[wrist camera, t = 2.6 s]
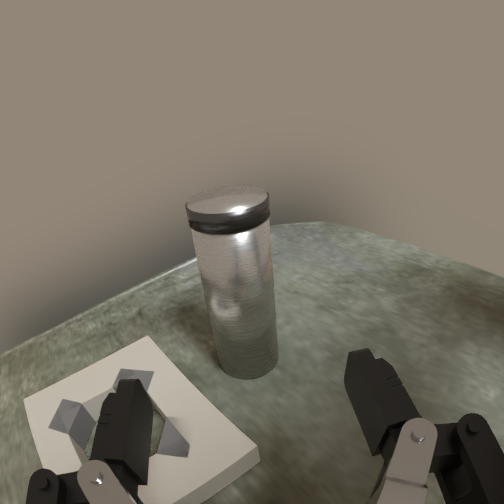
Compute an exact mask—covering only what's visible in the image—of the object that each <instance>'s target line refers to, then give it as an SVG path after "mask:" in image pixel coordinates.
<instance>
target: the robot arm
mask: <svg viewBox="0 0 504 504" xmlns="http://www.w3.org/2000/svg"><path fill="white" fill-rule="evenodd" d="M344 383H345V388H346V391H347V394H348V396H349V399H350V401H351V404H352V406H353V409H354V411H355V413H356V416H357V418H358V421H359V423H360V426H361V428H362V431H363V433H364V436H365V438H366V441H367V443H368V446H369V448H370V451H371V453H372V456H375V455H379V454H382V457H383V459H384V461H383V463H382V466H381V468H380V471H379V473H378V476H377V478H376V481H375V483H374V486H373V488H372V490H371V493H370V495H369V497H368V500H367V502H366V503H365V504H424V502H425V499H426V495H427V490H428V488H427V486H426V480H427V476H428V473H432V472H434V473H435V476H436V478H437V481H438V483H439V486H440V489H441V491H442V494H443V497H444V500H445V502H446V504H504V453H503V451H502V449H501V447H500V445H499V444H498V442H497V440H496V438H495V436H494V434H493V432H492V430H491V428H490V427H489V425H488V423H487V421H486V420H485V419H484V418H483V417H482V416H481V415H478V414H475V413H470V414H466V415H464V416H463V417H462V418H461V419H460V420H459V421H458V423H449V424H433V423H432V422H431V421H429V420H427V419H424V418H422V417H421V416H420V415H419V413H418V411H417V409H416V408H415V406H414V404H413V402H412V400H411V398H410V397H409V395H408V393H407V391H406V389H405V388H404V386H402V382H401V381H400V379H399V378H398V375H397V374H396V372H395V370H394V368H393V367H392V365H390V364H389V363H388V362H387V361H385V360H384V359H383V358H380V359H376V360H375V358H374V356H373V354H372V353H371V351H370V350H369V349H368V348H365V349H361V350H357V351H352V352H349V354H348V359H347V365H346V370H345V376H344ZM152 422H153V407H152V403H151V401H150V399H149V397H148V395H147V393H146V391H145V389H144V387H143V385H142V383H141V381H140V379H120V380H119V382H118V386H117V391H116V393H109V394H108V396H107V397H106V398H105V400H104V401H103V403H102V407H101V411H100V416H99V419H98V425H97V428H96V433H95V438H94V442H93V447H92V452H91V457H90V459H89V461H88V462H86V463H84V464H83V465H82V466H81V467H80V469H79V470H78V471H75V472H70V473H65V474H59V475H56V474H55V473H54V472H53V471H51V470H49V469H39V470H37V471H36V472H34V473H33V474H32V476H31V478H30V481H29V487H28V492H27V499H26V504H145V502H144V501H143V500H142V499H141V497H140V496H139V495H138V485H147V483H148V468H149V455H150V443H151V432H152Z"/></svg>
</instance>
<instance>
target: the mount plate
mask: <svg viewBox="0 0 504 504" xmlns="http://www.w3.org/2000/svg"><path fill="white" fill-rule="evenodd" d="M120 379H140V381H141V383H142V385H143V387H144V389H145V391H146V393H147V395H148V397H149V399H150V401H151V403H152V407H153V410H157V411H158V412H159V413H160V415H161V416H162V417H163V419H164V420H165V424H164V428H163V432H162V435H161V439H160V443H159V447H158V450H157V453H156V454H155V455H153V456H151V457H149V468H148V483H147V485H138V495H139V496H140V497H141V499H142V500H143V501H144V502H145V504H201V503H203V502H204V501H206V500H207V499H209V498H210V497H212V496H213V495H215V494H216V493H218V492H219V491H221V490H222V489H223V488H225V487H226V486H228V485H229V484H231V483H232V482H233V481H235V480H236V479H238V478H239V477H240V476H242V475H243V474H244V473H246V472H247V471H248V470H250V469H251V468H252V467H254V466H255V465H256V464H258V463H259V462H260V456H259V451H258V446H257V445H256V444H255V443H254V442H253V441H252V440H250V439H249V438H248V437H247V436H246V435H245V434H244V433H243V432H241V431H240V430H239V429H238V428H237V427H236V426H235V425H234V424H233V423H232V422H231V421H229V420H228V419H227V418H226V417H225V416H224V415H223V414H222V413H221V412H220V411H219V410H218V409H217V408H216V407H215V406H214V405H213V404H212V403H211V402H210V401H209V400H208V399H207V398H206V397H205V396H204V395H203V394H202V393H201V392H200V391H199V390H198V389H197V388H196V387H195V386H194V385H193V384H192V383H191V382H190V381H189V380H188V379H187V378H186V377H185V376H184V375H183V374H182V373H181V372H180V371H179V370H178V369H177V367H176V366H175V365H174V364H173V363H172V362H171V361H170V360H169V359H168V358H167V357H166V355H165V354H164V353H163V352H162V351H161V350H160V349H159V348H158V346H157V345H156V344H155V343H154V342H153V341H152V340H151V338H150V337H149V336H148V335H147V336H146V337H144V338H142V339H140V340H138V341H136V342H134V343H132V344H131V345H129V346H127V347H125V348H123V349H121V350H119V351H117V352H115V353H113V354H112V355H110V356H108V357H106V358H104V359H102V360H100V361H98V362H96V363H94V364H92V365H90V366H89V367H87V368H85V369H83V370H81V371H79V372H77V373H75V374H73V375H71V376H69V377H67V378H65V379H63V380H61V381H59V382H57V383H55V384H53V385H51V386H49V387H47V388H45V389H43V390H41V391H39V392H37V393H35V394H33V395H31V396H29V397H27V398H25V399H23V400H24V404H25V408H26V412H27V416H28V420H29V424H30V428H31V431H32V435H33V438H34V441H35V445H36V448H37V451H38V454H39V457H40V460H41V463H42V466H43V469H49V470H51V471H53V472H54V473H55V474H56V475H59V474H65V473H70V472H75V471H78V470H79V469H80V467H81V466H82V465H83V464H84V463H86V462H88V461H89V460H88V458H87V456H86V453H85V451H84V449H85V447H86V444H87V442H88V439H89V437H90V434H91V432H92V429H93V427H94V424H95V422H96V421H98V419H99V416H100V411H101V407H102V403H103V401H104V400H105V398H106V397H107V396H108V394H109V393H116V391H117V386H118V382H119V380H120Z"/></svg>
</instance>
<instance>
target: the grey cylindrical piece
mask: <svg viewBox="0 0 504 504" xmlns="http://www.w3.org/2000/svg"><path fill="white" fill-rule="evenodd" d="M185 206H186V212H187V217H188V223H189V226H190V227H191V230H192V235H193V241H194V246H195V251H196V256H197V261H198V266H199V271H200V276H201V281H202V286H203V291H204V295H205V300H206V305H207V309H208V314H209V318H210V323H211V327H212V331H213V336H214V340H215V344H216V349H217V353H218V357H219V361H220V365H221V367H222V369H223V370H224V371H225V372H226V373H227V374H228V375H230V376H232V377H235V378H238V379H255V378H259V377H261V376H264V375H266V374H267V373H269V372H270V371H271V370H272V369H273V368H274V367H275V365H276V364H277V361H278V342H277V325H276V310H275V294H274V280H273V265H272V251H271V238H270V225H269V217H270V204H269V194H268V192H266V191H265V190H264V189H262V188H259V187H255V186H247V185H234V186H224V187H218V188H213V189H209V190H206V191H203V192H200V193H198V194H196V195H195V196H193V197H191V198H190V199H189V200H188V201H187V203H186V205H185Z"/></svg>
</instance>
